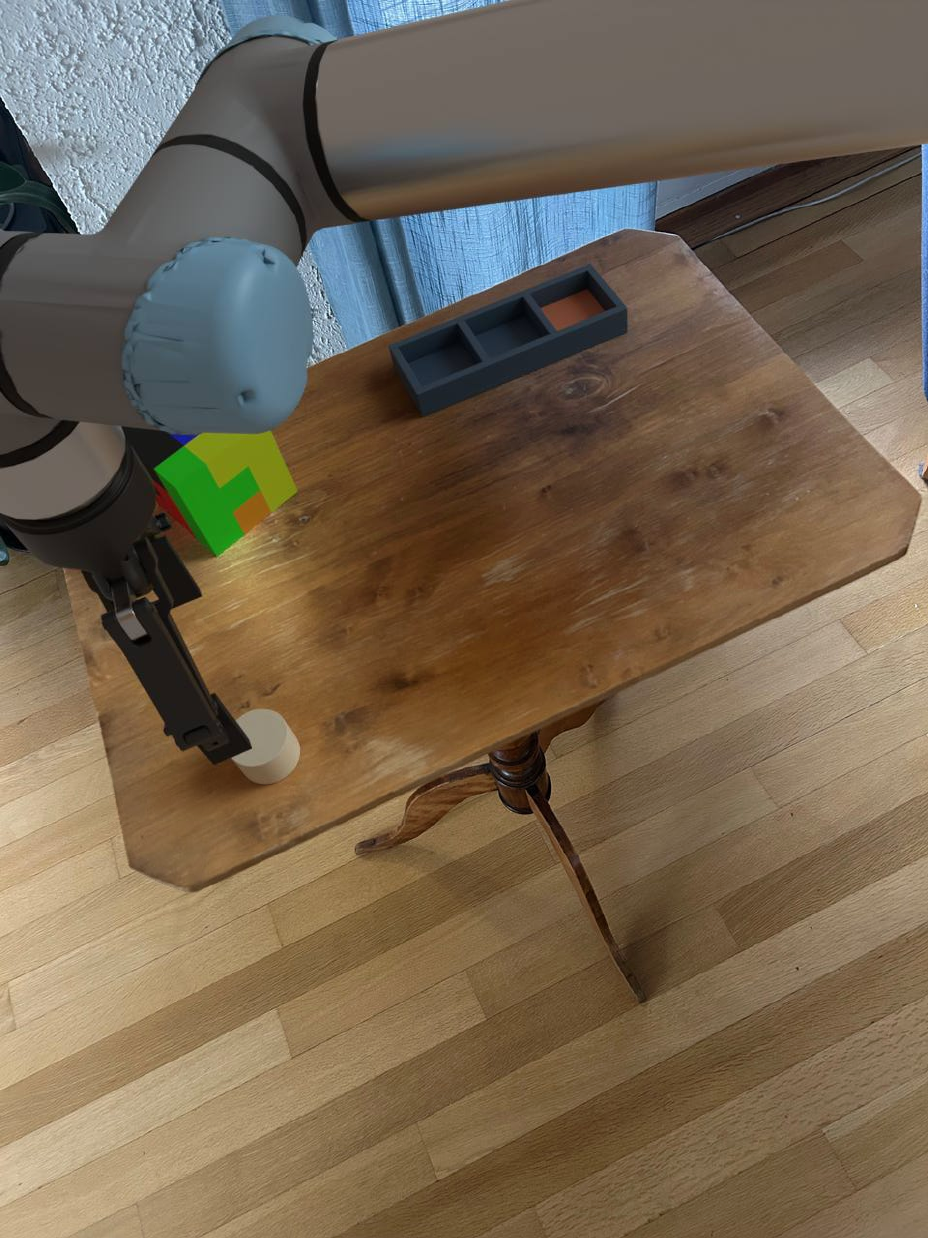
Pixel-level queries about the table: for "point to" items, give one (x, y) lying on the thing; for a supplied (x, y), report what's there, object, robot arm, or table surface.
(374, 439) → the table surface
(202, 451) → the puzzle toy
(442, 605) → the table surface
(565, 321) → the grid
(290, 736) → the cylinder
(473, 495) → the table surface
